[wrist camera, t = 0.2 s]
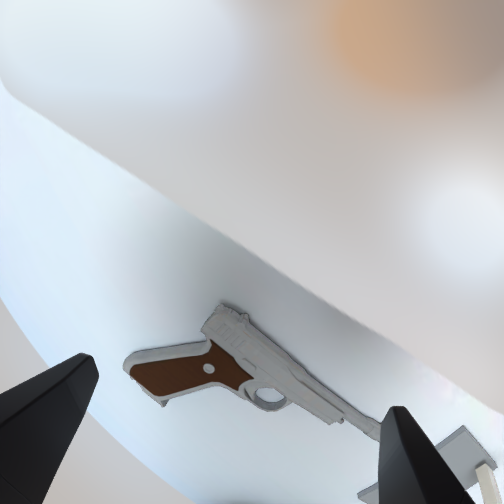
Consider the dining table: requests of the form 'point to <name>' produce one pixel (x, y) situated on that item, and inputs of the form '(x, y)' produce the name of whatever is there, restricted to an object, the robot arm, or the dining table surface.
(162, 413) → the dining table surface
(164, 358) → the handgun
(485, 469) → the lever
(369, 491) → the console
